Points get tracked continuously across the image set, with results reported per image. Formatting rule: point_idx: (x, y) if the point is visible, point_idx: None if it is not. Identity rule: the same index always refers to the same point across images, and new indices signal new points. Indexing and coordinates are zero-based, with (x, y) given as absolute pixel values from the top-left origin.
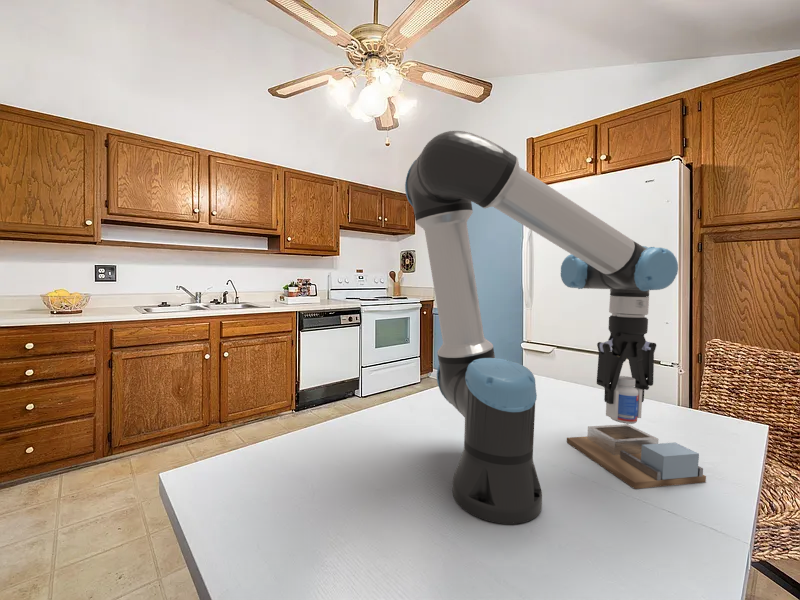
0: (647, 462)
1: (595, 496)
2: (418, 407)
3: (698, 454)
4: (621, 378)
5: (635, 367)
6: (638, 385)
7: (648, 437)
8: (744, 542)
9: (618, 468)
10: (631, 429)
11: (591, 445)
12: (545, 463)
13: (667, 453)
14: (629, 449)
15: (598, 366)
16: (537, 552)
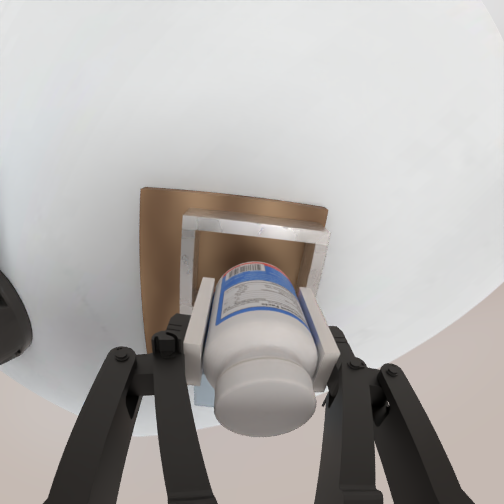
0: None
1: (89, 351)
2: (10, 6)
3: None
4: (230, 417)
5: (324, 468)
6: (331, 387)
7: None
8: None
9: (153, 334)
10: (311, 256)
11: (170, 244)
12: (58, 261)
13: (211, 402)
14: None
15: (78, 424)
16: (25, 370)
